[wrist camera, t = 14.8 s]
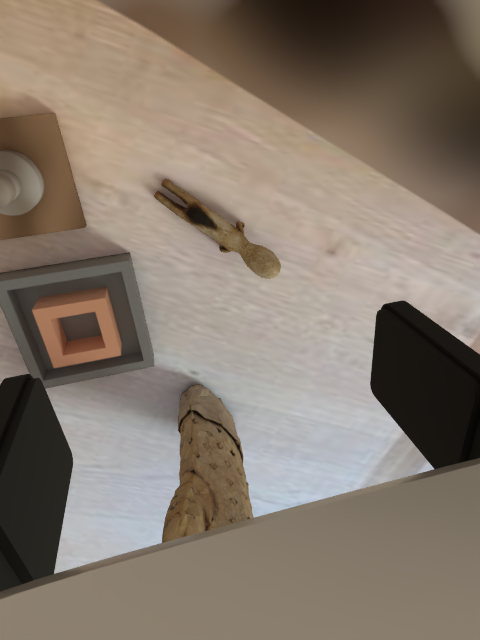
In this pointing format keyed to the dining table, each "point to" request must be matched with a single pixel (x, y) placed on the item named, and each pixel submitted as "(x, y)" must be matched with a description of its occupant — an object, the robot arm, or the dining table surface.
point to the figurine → (221, 231)
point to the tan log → (207, 469)
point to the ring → (75, 304)
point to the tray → (77, 316)
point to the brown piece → (36, 179)
